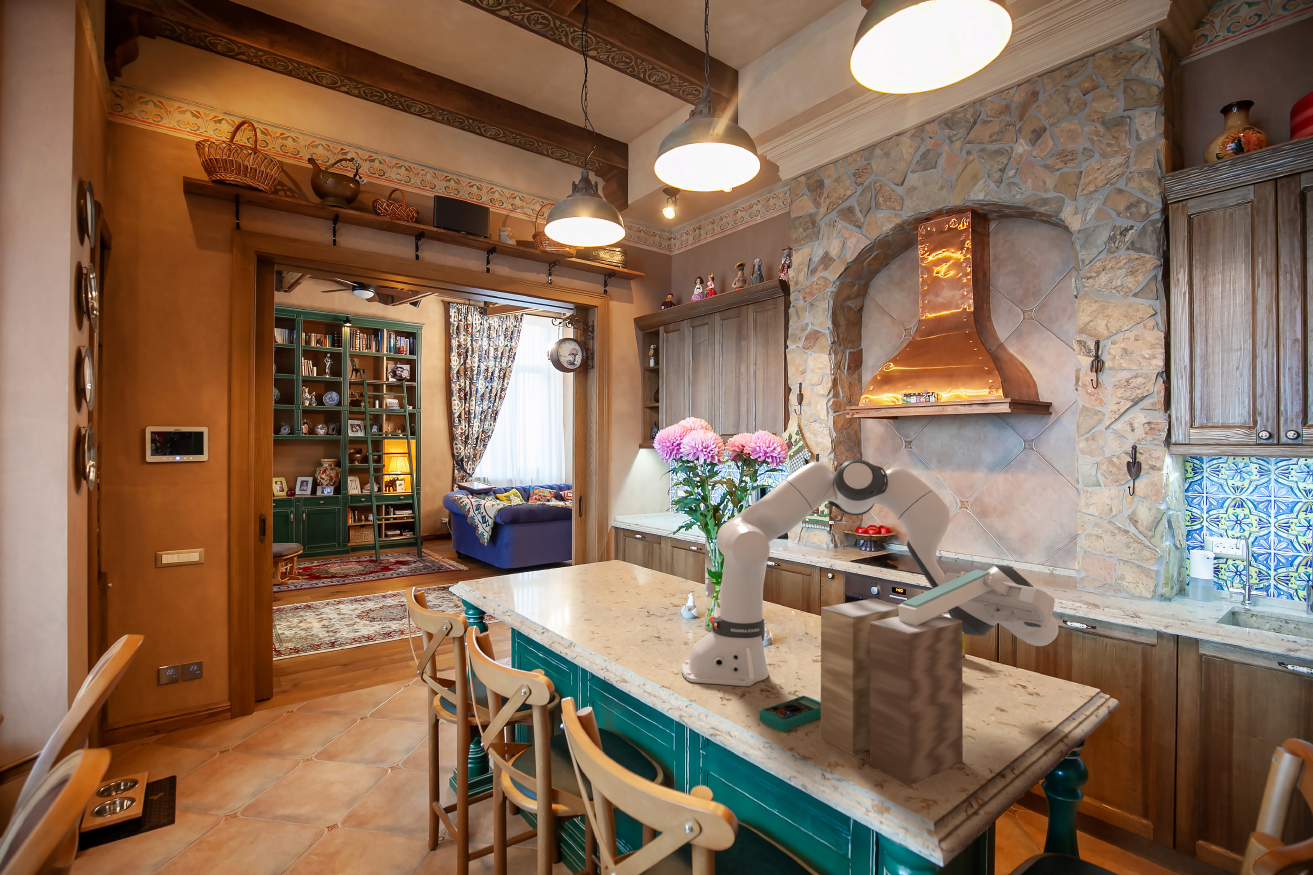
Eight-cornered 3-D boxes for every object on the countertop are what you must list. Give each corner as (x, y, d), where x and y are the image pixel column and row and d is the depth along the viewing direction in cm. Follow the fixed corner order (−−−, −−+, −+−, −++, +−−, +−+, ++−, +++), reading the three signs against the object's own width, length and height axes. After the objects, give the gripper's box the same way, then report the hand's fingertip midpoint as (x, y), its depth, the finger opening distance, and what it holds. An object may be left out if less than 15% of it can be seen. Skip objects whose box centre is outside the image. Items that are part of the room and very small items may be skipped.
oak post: (873, 720, 130) (873, 598, 130) (906, 735, 123) (906, 606, 124) (820, 737, 121) (821, 607, 122) (852, 755, 115) (852, 616, 115)
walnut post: (924, 743, 119) (923, 610, 120) (962, 761, 113) (962, 620, 113) (869, 764, 111) (870, 621, 112) (908, 785, 104) (907, 633, 105)
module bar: (978, 583, 126) (977, 567, 126) (995, 587, 123) (994, 570, 123) (899, 620, 112) (897, 603, 112) (916, 625, 110) (914, 607, 109)
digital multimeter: (756, 722, 129) (756, 708, 130) (804, 705, 138) (804, 692, 138) (781, 735, 123) (782, 721, 123) (829, 717, 132) (830, 704, 132)
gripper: (965, 581, 138) (933, 555, 132) (1063, 600, 121) (1031, 571, 115) (957, 607, 136) (924, 582, 130) (1056, 630, 119) (1022, 602, 113)
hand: (975, 577), depth 122 cm, fingers closed on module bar, 3 cm apart
